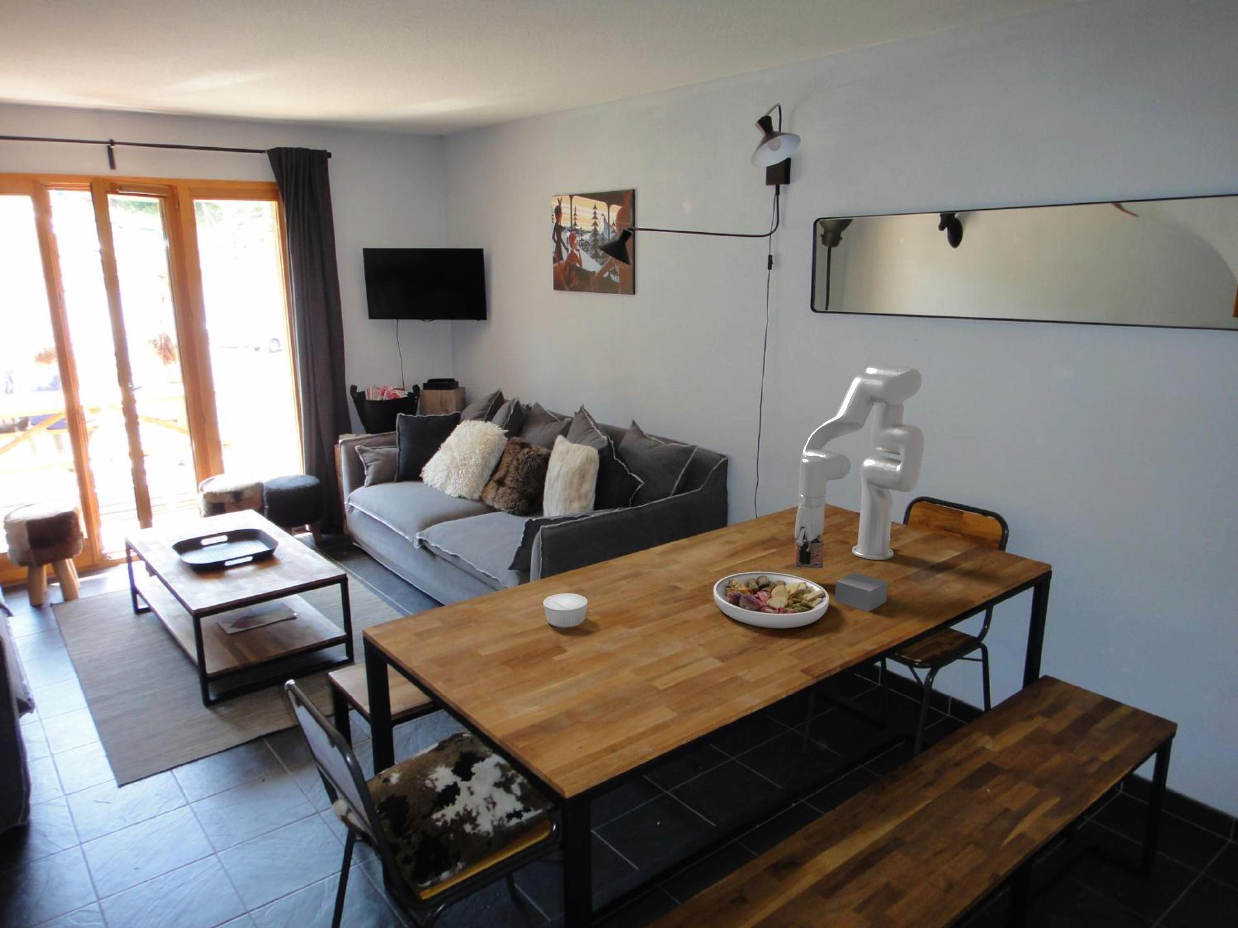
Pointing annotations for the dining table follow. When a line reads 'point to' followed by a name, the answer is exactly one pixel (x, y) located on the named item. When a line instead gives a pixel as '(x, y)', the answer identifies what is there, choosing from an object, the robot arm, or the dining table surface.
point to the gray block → (861, 591)
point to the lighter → (816, 554)
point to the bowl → (771, 599)
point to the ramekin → (565, 609)
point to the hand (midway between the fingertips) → (808, 559)
